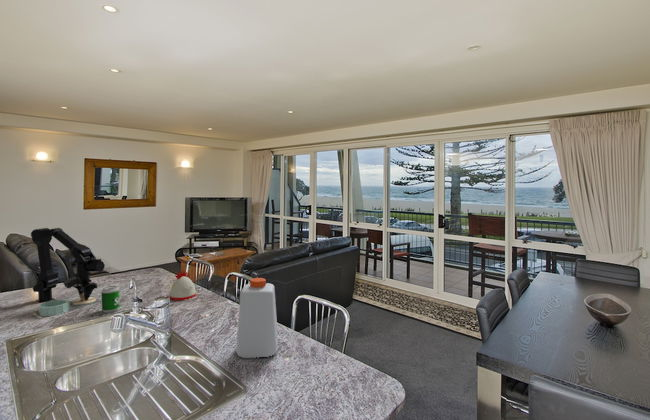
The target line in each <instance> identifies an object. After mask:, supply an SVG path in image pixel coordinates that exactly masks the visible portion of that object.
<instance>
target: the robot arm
mask: <svg viewBox="0 0 650 420" xmlns="http://www.w3.org/2000/svg"><path fill="white" fill-rule="evenodd" d="M30 236H31V241H32V242H33V243H34V244H35V245H36V247H37V248H36V249H37V256H38V263H39V271H40V273H38V276H37V283H36V284H35V285H34V286H33V287H32V290H33V293H38V294H37V296H38V297H37V298H38V299H36V300H35V301H36V302H37V303H38V304H42V303H45V302H49V301H53V300H56V299H55V298H53V289H55V288H56V287H57V284H58V283H59V280H60V278H59V273H58V272H55V271H54V269H53V263H52V257H51V249H50V243H51V242H52V239H53V238H54V239H55V240H57V241H58V242H59V243H61V244H62V245H63V246H64V247H65V248H67V249H68V250H69V252H70V255H71V256H72V257H73V258H74V260H73V261H72V262H71V263H72V264H75V266H76V270H75V271H76V272H75V273H74V274H73V275H74V276H72V277H70V278H67V279H66V280H63V282H62V283H63V285H64V287H65V288H67V289H70V288H71V289H72V287H73V288H74V289H76V290H77V292H78V295H79V297H80V294H84V298H85V301H87V300H88V299H89V297H91V295H92V293H93V291H94V290H95V289H97V288H98V283H96V282H94V281H92V279H91V275H92V273H95V272H97V273H101V272H102V271H104V269H105V265H106V264H105V263H104V262H103V261H102V258H97V257H96V256H95V254H94V253H93V251H92V249H91V248H90V247H89V246H86V245H85V244H82V243H80V242H78V241H76V240H75V239H74V238H73V237H71V236H70V235H69V234H68V233H66V232H65V231H64V230H63V229H62V228H61V227H55V228H51V229H50V228H48V227H43V228H36V229H33V230H32V231H31V232H30Z"/></svg>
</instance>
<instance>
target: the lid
mask: <svg viewBox="0 0 650 420" xmlns="http://www.w3.org/2000/svg"><path fill="white" fill-rule="evenodd" d="M96 299H97V298H96V297H94V296H92V297H91V296H90V297H89V299H88V300H87V301H85V298H84V294H80V296H79V298H77V299H74V300H72V301H73V302H72V304H73V305H86V304H90V303H93V302H95V301H96Z"/></svg>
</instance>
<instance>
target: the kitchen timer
mask: <svg viewBox="0 0 650 420" xmlns="http://www.w3.org/2000/svg"><path fill="white" fill-rule="evenodd" d="M174 277H175V278H176V280H175V281H174V282H173V283H172V285H171V288H170V290H169V291H170V292H169V299H170V300H172V299H173V300H172V301H177V300H179V301H186V300H185V299H187V300H190V299H189V298H191V299H193V298H195V297H196V295H197V291H196V288H195V284H194V283H193V281H192V280H191V279H190V278H189V277H190V273H188V271H186V272H185V270H180V273H179V271H177V274H175V276H174ZM194 296H195V297H194ZM192 297H193V298H192Z"/></svg>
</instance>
